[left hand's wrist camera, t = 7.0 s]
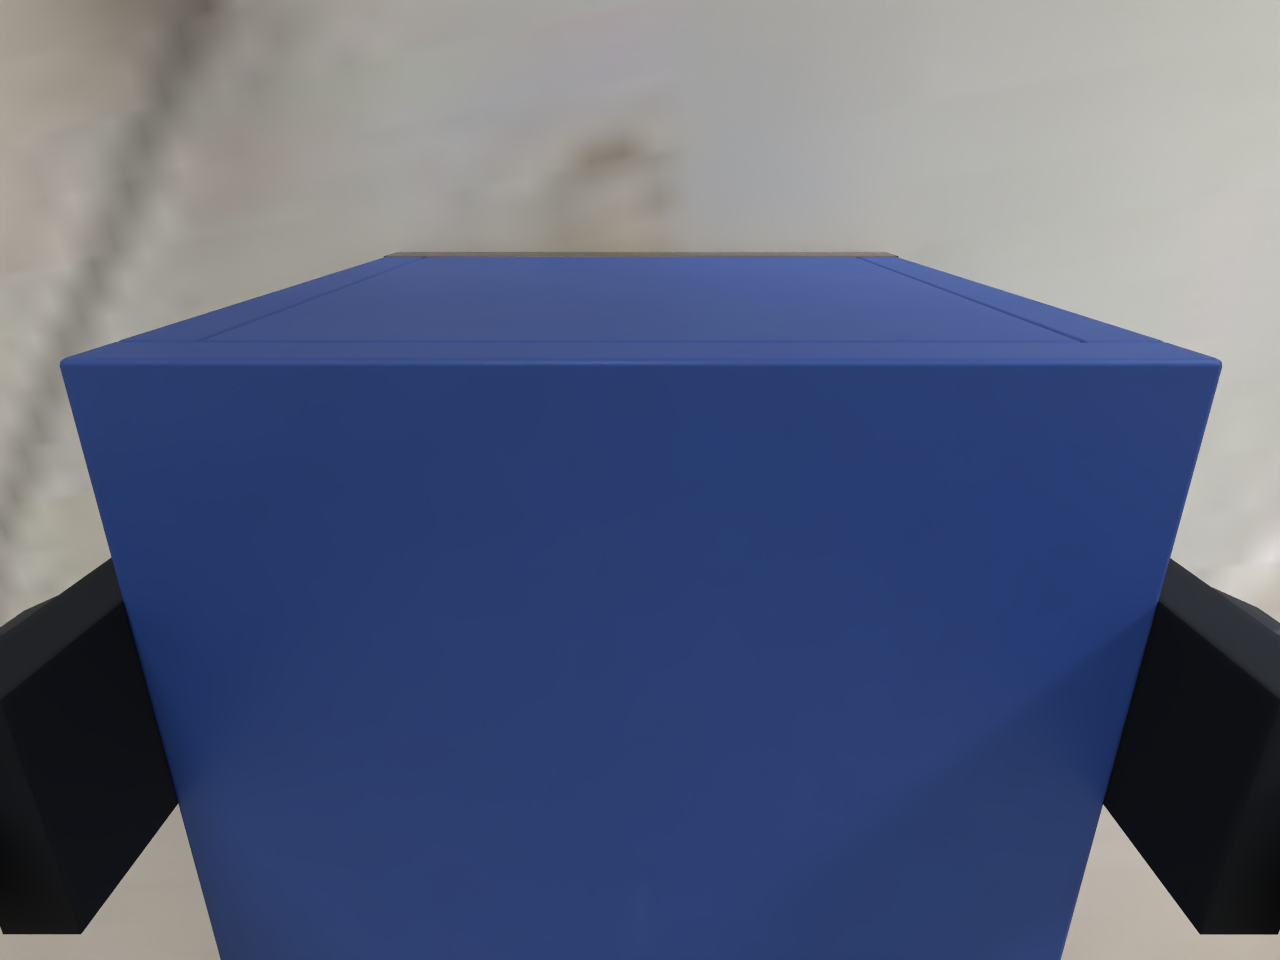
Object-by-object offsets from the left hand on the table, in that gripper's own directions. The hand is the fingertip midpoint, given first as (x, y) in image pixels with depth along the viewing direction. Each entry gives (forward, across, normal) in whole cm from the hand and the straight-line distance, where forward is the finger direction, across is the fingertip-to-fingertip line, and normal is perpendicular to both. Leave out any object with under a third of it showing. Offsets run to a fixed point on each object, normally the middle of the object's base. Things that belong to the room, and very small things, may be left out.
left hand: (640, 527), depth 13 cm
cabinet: (+6, 0, -7) cm, 9 cm away
